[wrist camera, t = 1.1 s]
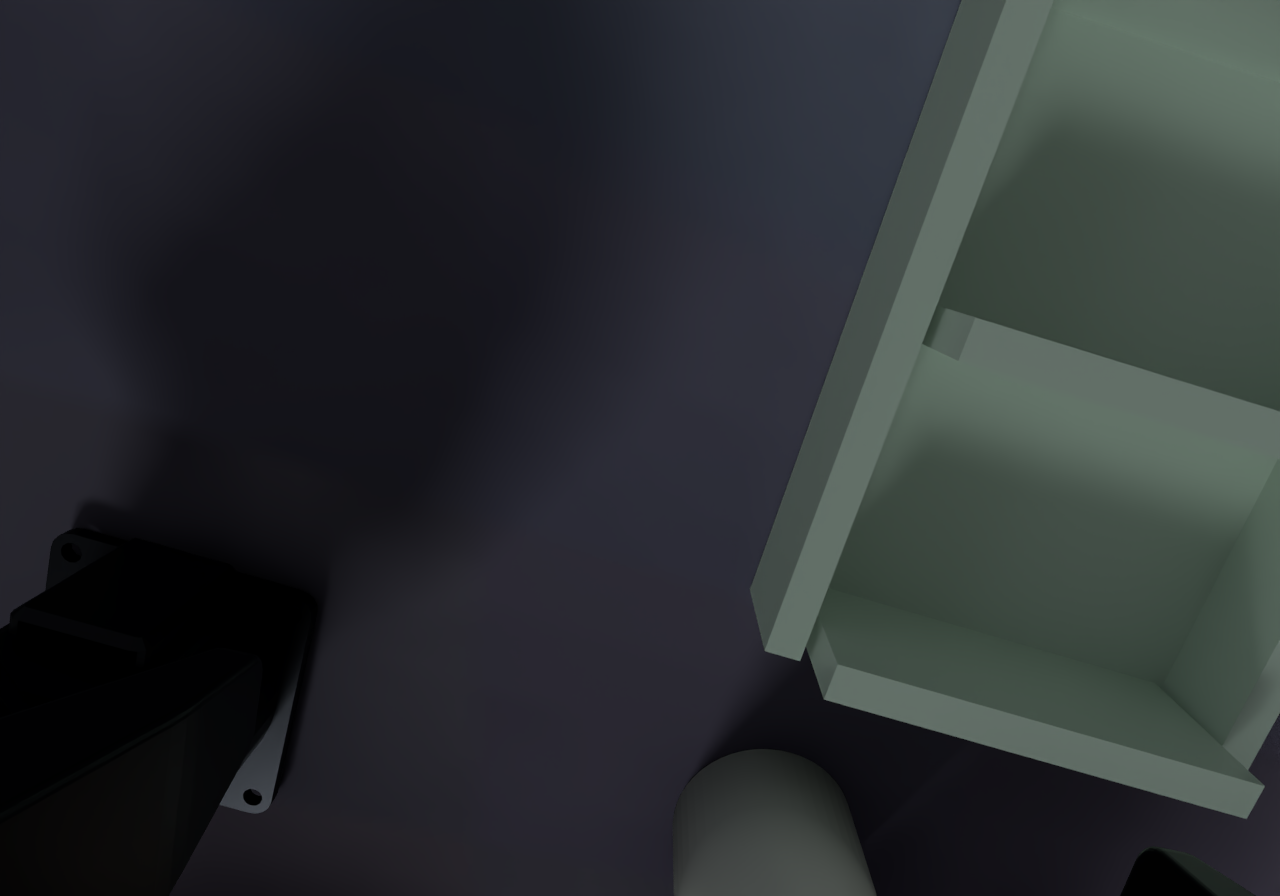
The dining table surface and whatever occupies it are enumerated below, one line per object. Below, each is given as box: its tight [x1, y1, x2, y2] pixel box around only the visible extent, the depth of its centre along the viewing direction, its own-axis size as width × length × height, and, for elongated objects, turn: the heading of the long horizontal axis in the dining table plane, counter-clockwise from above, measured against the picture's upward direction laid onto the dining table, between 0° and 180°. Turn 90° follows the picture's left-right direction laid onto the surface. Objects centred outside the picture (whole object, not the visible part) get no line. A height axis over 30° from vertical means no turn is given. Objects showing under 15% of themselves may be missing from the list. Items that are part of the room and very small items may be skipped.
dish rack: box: [750, 0, 1280, 819], centre depth 18 cm, size 15×11×5 cm
